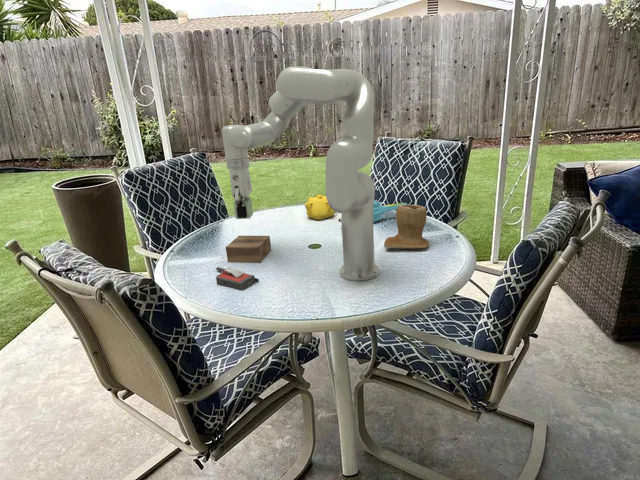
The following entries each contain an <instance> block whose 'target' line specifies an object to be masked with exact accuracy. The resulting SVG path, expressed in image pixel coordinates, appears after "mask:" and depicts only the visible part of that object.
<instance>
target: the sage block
mask: <svg viewBox="0 0 640 480" xmlns="http://www.w3.org/2000/svg"><path fill="white" fill-rule="evenodd" d="M240 200H241V201H242V199H240ZM244 202H245V206H246V212H247V217H246V218H238V217H237V209H236V202H235V200H233V210H234V216H235V220H242V219H243V220H245V219H247V220H249V219H251V218H252V216H254V211H253V203H252V197H249V198H244Z"/></svg>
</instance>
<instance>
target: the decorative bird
mask: <svg viewBox="0 0 640 480" xmlns="http://www.w3.org/2000/svg"><path fill="white" fill-rule="evenodd" d="M382 203H383V202H382V201H375V200H374V205H373V224H374V223H375V222H378V221H379V220H382V219H383V218H384V216H383V214H385V213H388V212H392V211H395V210H397V208H398V206H399V205H408V203H407V202H400V203H393V204H385V205H382ZM381 215H382V216H381ZM338 222H339V223H342V222H341V217H340V218H338Z"/></svg>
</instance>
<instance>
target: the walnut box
mask: <svg viewBox="0 0 640 480" xmlns="http://www.w3.org/2000/svg"><path fill="white" fill-rule="evenodd" d="M225 251H226V252H225V253H226V259H227V263H232V264H233V262H234V263H239V264H241V263H242V264H243V263H244V264H261V263H262V262H263V261H264V259H266V258H267V256H268V255H269V254H270V253H269V252H272V245H271V237H270V235H238V236H236V237H235V239H233V240H232V241H231V242H229V244H227V245H226V246H225ZM268 253H269V254H268ZM267 254H268V255H267ZM262 260H263V261H262ZM261 261H262V262H261Z"/></svg>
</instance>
